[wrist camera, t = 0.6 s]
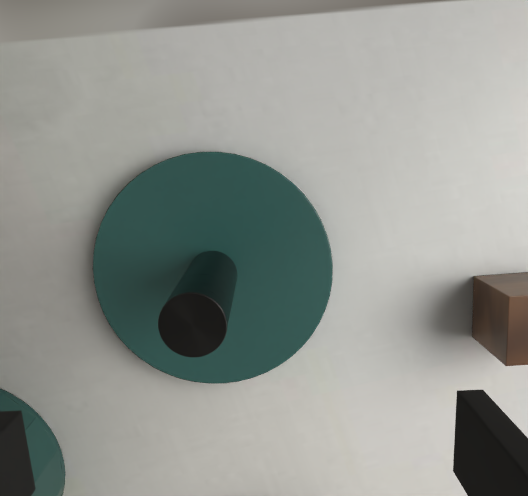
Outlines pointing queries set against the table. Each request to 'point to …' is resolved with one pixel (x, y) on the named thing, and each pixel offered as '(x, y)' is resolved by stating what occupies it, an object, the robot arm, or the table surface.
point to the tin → (39, 448)
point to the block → (502, 316)
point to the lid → (212, 267)
